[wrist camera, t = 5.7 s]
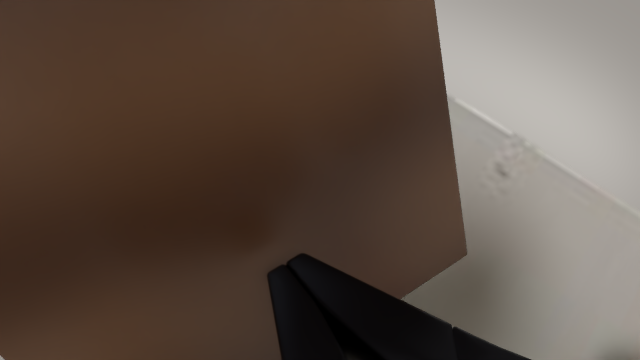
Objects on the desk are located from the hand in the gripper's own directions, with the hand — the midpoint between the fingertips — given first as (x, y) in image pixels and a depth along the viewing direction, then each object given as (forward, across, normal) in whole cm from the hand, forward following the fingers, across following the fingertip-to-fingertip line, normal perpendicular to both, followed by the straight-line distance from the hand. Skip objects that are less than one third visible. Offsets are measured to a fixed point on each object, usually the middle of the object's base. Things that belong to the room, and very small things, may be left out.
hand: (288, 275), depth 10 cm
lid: (+2, 0, -1) cm, 2 cm away
